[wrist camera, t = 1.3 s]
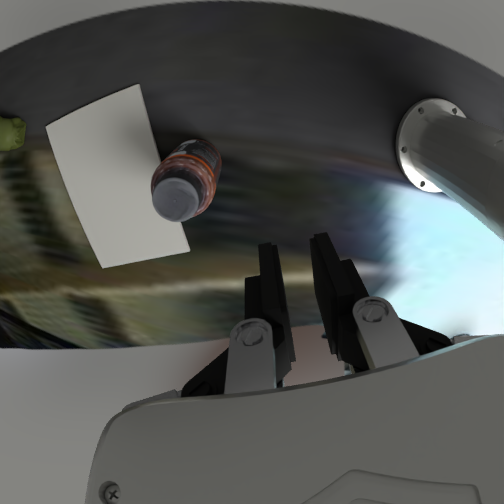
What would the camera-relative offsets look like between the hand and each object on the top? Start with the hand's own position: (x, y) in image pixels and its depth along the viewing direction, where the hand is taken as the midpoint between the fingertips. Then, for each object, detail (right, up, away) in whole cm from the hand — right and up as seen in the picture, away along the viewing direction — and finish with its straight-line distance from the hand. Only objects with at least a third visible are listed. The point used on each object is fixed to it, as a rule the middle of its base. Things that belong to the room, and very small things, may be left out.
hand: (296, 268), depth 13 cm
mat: (-19, +9, +21) cm, 30 cm away
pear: (-36, +18, +16) cm, 43 cm away
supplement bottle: (-8, +11, +21) cm, 25 cm away
